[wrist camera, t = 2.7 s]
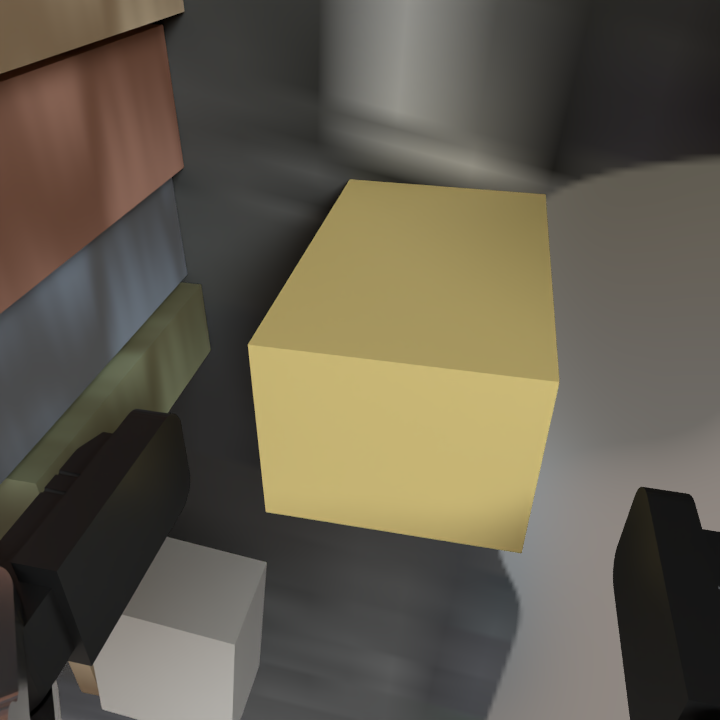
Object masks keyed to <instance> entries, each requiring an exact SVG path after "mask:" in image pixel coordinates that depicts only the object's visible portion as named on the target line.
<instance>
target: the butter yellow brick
mask: <svg viewBox="0 0 720 720" xmlns="http://www.w3.org/2000/svg"><path fill="white" fill-rule="evenodd" d="M547 222H548V221H547V208H546V194H533V193H520V192H507V191H494V190H481V189H468V188H455V187H442V186H429V185H416V184H403V183H390V182H377V181H364V180H351V179H350V180H349V181H348V183H347V185H346V186H345V188H344V190H343V191H342V193H341V194H340V196H339V198H338V199H337V201H336V203H335V204H334V206H333V207H332V209H331V211H330V212H329V214H328V215H327V217H326V219H325V220H324V222H323V224H322V225H321V227H320V228H319V230H318V232H317V233H316V235H315V237H314V238H313V240H312V241H311V243H310V245H309V246H308V248H307V250H306V251H305V253H304V254H303V256H302V258H301V259H300V261H299V262H298V264H297V266H296V267H295V269H294V271H293V272H292V274H291V275H290V277H289V279H288V280H287V282H286V284H285V285H284V287H283V288H282V290H281V292H280V293H279V295H278V296H277V298H276V300H275V301H274V303H273V305H272V306H271V308H270V309H269V311H268V313H267V314H266V316H265V318H264V319H263V321H262V322H261V324H260V326H259V327H258V329H257V331H256V332H255V334H254V335H253V337H252V339H251V340H250V342H249V343H248V351H249V361H250V370H251V379H252V388H253V398H254V407H255V416H256V425H257V435H258V444H259V453H260V463H261V472H262V481H263V490H264V500H265V509H266V512H269V513H275V514H281V515H288V516H294V517H300V518H306V519H312V520H318V521H325V522H331V523H337V524H343V525H349V526H356V527H362V528H368V529H374V530H380V531H387V532H393V533H399V534H405V535H411V536H418V537H424V538H430V539H436V540H442V541H448V542H455V543H461V544H467V545H473V546H479V547H486V548H492V549H498V550H504V551H510V552H517V553H522V549H523V544H524V539H525V535H526V531H527V525H528V521H529V517H530V512H531V508H532V503H533V499H534V495H535V490H536V486H537V481H538V476H539V472H540V468H541V463H542V459H543V454H544V450H545V445H546V440H547V436H548V432H549V427H550V423H551V418H552V414H553V409H554V404H555V400H556V396H557V391H558V387H559V369H558V357H557V343H556V329H555V316H554V302H553V289H552V275H551V261H550V249H549V236H548V235H549V234H548V223H547Z"/></svg>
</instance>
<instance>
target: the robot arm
mask: <svg viewBox="0 0 720 720" xmlns="http://www.w3.org/2000/svg"><path fill="white" fill-rule="evenodd" d="M44 488H45V489H44V492H40V493H39V495H38V496H37V497H36V498H35V499H34V501H33V502H32V503H31V504H30V505H29V507H28V508H27V509H26V510H25V511H24V512H23V514H22V515H21V516H20V517H19V518H18V520H17V521H16V522H15V523H14V524H13V526H12V527H11V528H10V529H9V530H8V531H7V533H6V534H5V535H4V536H3V537H2V539H1V540H0V720H61V712H60V702H59V692H58V686H57V682H56V678H57V677H58V675H59V674H60V672H61V670H62V669H63V667H64V665H65V664H66V662H67V661H70V662H75V663H79V664H84V665H88V666H92V665H93V664H94V662H95V660H96V658H97V657H98V655H99V653H100V651H101V650H102V648H103V646H104V645H105V643H106V641H107V639H108V638H109V636H110V634H111V632H112V631H113V629H114V627H115V626H116V624H117V622H118V620H119V619H120V617H121V615H122V613H123V612H124V610H125V608H126V607H127V605H128V603H129V601H130V600H131V598H132V596H133V594H134V593H135V591H136V589H137V588H138V586H139V584H140V582H141V581H142V579H143V577H144V575H145V574H146V572H147V570H148V569H149V567H150V565H151V563H152V562H153V560H154V558H155V556H156V555H157V553H158V551H159V550H160V548H161V546H162V544H163V543H164V541H165V539H166V537H167V536H168V534H169V532H170V531H171V529H172V527H173V525H174V524H175V522H176V520H177V518H178V517H179V515H180V513H181V512H182V510H183V508H184V506H185V503H186V500H187V497H188V493H189V488H190V472H189V467H188V461H187V455H186V450H185V444H184V438H183V432H182V427H181V422H180V419H179V417H178V416H177V415H175V414H170V413H163V412H157V411H150V410H143V409H134V410H132V411H131V412H130V413H129V414H128V415H127V417H126V418H125V419H124V420H123V422H122V423H121V424H120V425H119V427H118V428H117V429H116V430H115V432H114V433H107V432H102V433H101V434H99V435H98V436H96V437H94V438H93V439H91V440H90V441H88V442H87V443H85V444H84V445H82V446H81V447H79V448H78V449H76V451H75V452H74V453H73V454H72V455H71V457H70V458H69V459H68V460H67V461H66V463H65V464H64V465H63V466H62V467H61V468H60V470H59V474H58V475H56V474H55V476H54V477H53V478H52V479H51V480H50V482H49V483H48V484H47V485H46V486H45V487H44ZM613 586H614V594H615V602H616V611H617V618H618V626H619V634H620V642H621V650H622V658H623V666H624V674H625V682H626V690H627V698H628V706H629V714H630V720H720V532H716V531H710V530H703V529H702V527H701V523H700V520H699V516H698V513H697V509H696V506H695V502H694V500H693V498H692V496H691V495H690V494H686V493H679V492H672V491H666V490H659V489H653V488H646V487H640V488H639V489H638V491H637V492H636V495H635V497H634V500H633V503H632V506H631V509H630V512H629V515H628V518H627V520H626V523H625V526H624V529H623V532H622V534H621V537H620V540H619V543H618V546H617V549H616V553H615V559H614V568H613Z"/></svg>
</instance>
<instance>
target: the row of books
mask: <svg viewBox="0 0 720 720" xmlns="http://www.w3.org/2000/svg"><path fill="white" fill-rule="evenodd" d="M182 12H184V4H183V0H0V540H1V539H2V537H3V536H4V535H5V534H6V533H7V531H8V530H9V529H10V528H11V527H12V526H13V524H14V523H15V522H16V521H17V520H18V518H19V517H20V516H21V515H22V514H23V512H24V511H25V510H26V509H27V508H28V507H29V505H30V504H31V503H32V502H33V501H34V499H35V498H36V497H37V496H38V495H39V493H40V492H44V489H45V488H44V487H45V486H46V485H47V484H48V483H49V482H50V480H51V479H52V478H53V477H54V476H55V474H56V475H58V474H59V470H60V468H61V467H62V466H63V465H64V464H65V463H66V461H67V460H68V459H69V458H70V457H71V455H72V454H73V453H74V452H75V451H76V449H78V448H79V447H81V446H82V445H84V444H85V443H87V442H88V441H90V440H91V439H93V438H94V437H96V436H98V435H99V434H101V433H102V432H107V433H114V432H115V430H116V429H117V428H118V427H119V425H120V424H121V423H122V422H123V420H124V419H125V418H126V417H127V415H128V414H129V413H130V412H131V411H132V410H134V409H143V410H150V411H157V412H163V413H168V412H169V410H170V409H171V407H172V406H173V404H174V403H175V401H176V400H177V399H178V397H179V396H180V394H181V393H182V391H183V390H184V388H185V387H186V385H187V384H188V383H189V381H190V380H191V378H192V377H193V375H194V374H195V372H196V371H197V369H198V368H199V367H200V365H201V364H202V362H203V361H204V359H205V358H206V356H207V355H208V354H209V352H210V351H211V348H210V341H209V335H208V328H207V321H206V314H205V307H204V301H203V294H202V287H201V284H191V283H182V282H181V281H182V280H183V279H184V278H185V276H186V275H187V269H186V263H185V257H184V250H183V244H182V238H181V231H180V225H179V219H178V212H177V206H176V200H175V194H174V187H173V181H172V176H174V175H175V174H176V173H177V172H179V171H180V170H181V169H183V168H184V164H183V158H182V151H181V144H180V137H179V130H178V124H177V117H176V110H175V103H174V96H173V90H172V83H171V76H170V69H169V62H168V55H167V49H166V42H165V35H164V28H163V25H159V24H149V23H152V22H155V21H158V20H161V19H164V18H167V17H170V16H173V15H176V14H179V13H182ZM68 662H69V664H70V666H71V668H72V671H73V673H74V675H75V678H76V680H77V682H78V685H79V687H80V689H81V691H82V692H84V693H89V694H94V695H98V696H99V691H98V686H97V681H96V676H95V670H94V665H92V666H88V665H84V664H79V663H75V662H70V661H68Z"/></svg>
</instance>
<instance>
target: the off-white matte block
mask: <svg viewBox="0 0 720 720" xmlns="http://www.w3.org/2000/svg"><path fill="white" fill-rule="evenodd" d="M266 567H267V562H264V561H260V560H256V559H252V558H248V557H244V556H240V555H236V554H232V553H228V552H224V551H221V550H217V549H213V548H209V547H205V546H201V545H197V544H193V543H189V542H185V541H181V540H177V539H174V538H170V537H166V539H165V541H164V543H163V544H162V546H161V548H160V550H159V551H158V553H157V555H156V556H155V558H154V560H153V562H152V563H151V565H150V567H149V569H148V570H147V572H146V574H145V575H144V577H143V579H142V581H141V582H140V584H139V586H138V588H137V589H136V591H135V593H134V594H133V596H132V598H131V600H130V601H129V603H128V605H127V607H126V608H125V610H124V612H123V613H122V615H121V617H120V619H119V620H118V622H117V624H116V626H115V627H114V629H113V631H112V632H111V634H110V636H109V638H108V639H107V641H106V643H105V645H104V646H103V648H102V650H101V651H100V653H99V655H98V657H97V658H96V660H95V662H94V664H93V665H94V670H95V676H96V681H97V686H98V691H99V696H100V701H101V706H102V709H103V710H106V711H110V712H113V713H117V714H120V715H124V716H127V717H131V718H134V719H138V720H240V719H241V716H242V714H243V711H244V708H245V705H246V702H247V699H248V696H249V693H250V690H251V688H252V685H253V682H254V679H255V676H256V673H257V670H258V667H259V661H260V647H261V634H262V620H263V607H264V594H265V580H266Z"/></svg>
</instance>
